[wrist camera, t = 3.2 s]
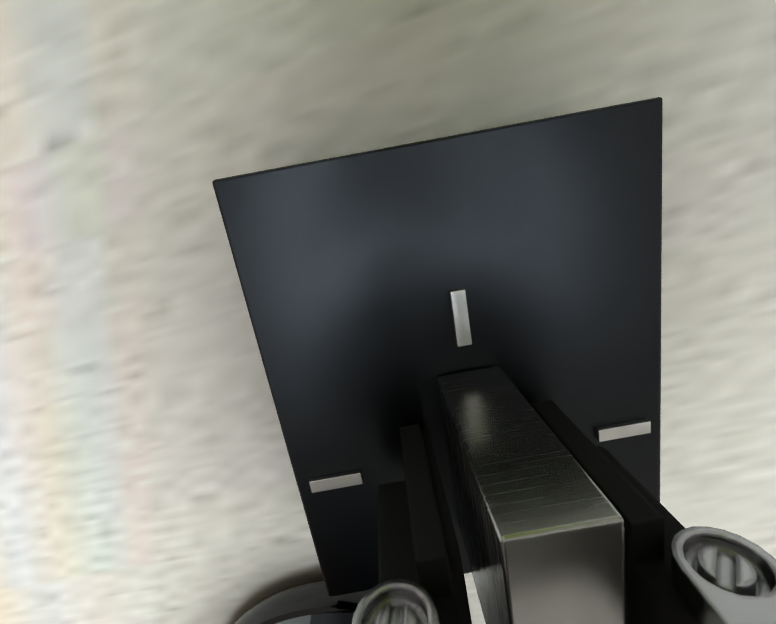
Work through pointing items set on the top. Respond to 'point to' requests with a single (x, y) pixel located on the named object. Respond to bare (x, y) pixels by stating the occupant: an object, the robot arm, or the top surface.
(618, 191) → the hob panel
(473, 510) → the knob
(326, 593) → the supplement container
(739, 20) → the top surface
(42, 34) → the top surface
